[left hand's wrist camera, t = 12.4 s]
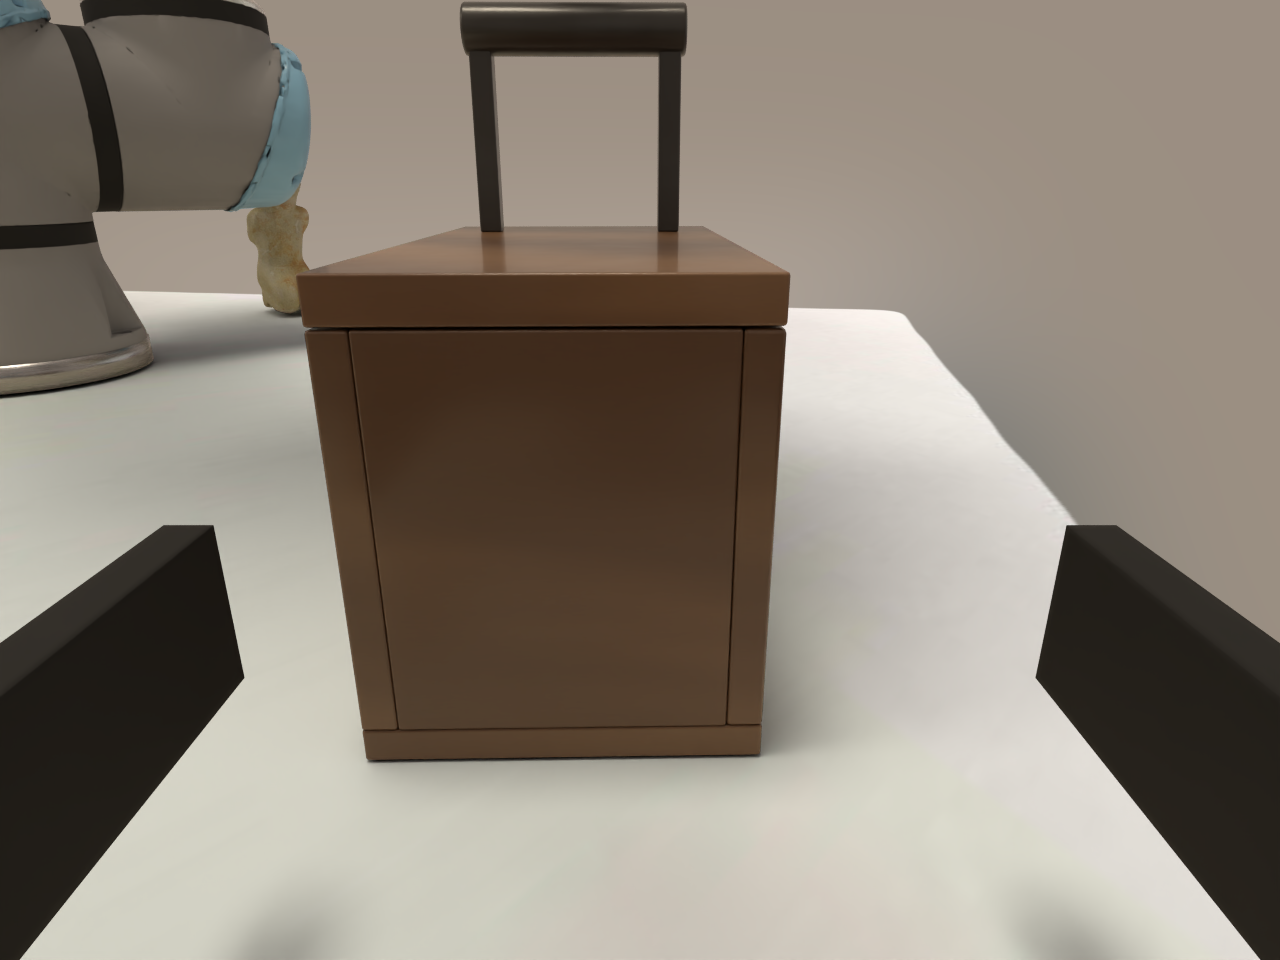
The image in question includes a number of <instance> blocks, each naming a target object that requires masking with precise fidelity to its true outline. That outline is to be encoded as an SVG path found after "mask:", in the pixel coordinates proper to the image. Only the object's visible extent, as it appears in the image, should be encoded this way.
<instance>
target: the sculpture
mask: <svg viewBox="0 0 1280 960" xmlns="http://www.w3.org/2000/svg"><path fill="white" fill-rule="evenodd" d="M300 185H301V183H300ZM300 185H299V187H298V188H297V190H296V191H295V193H294V194H293V195H292V197H291V198H290V199H288V200H287V201H286V202H284V203H282V204H280V205H277V206H272V207H259V208H254V209H253V210H251V211H250V212H249V214H248V215H247V232H248V237H249V239H250V241H251V242H253V243H254V244H255V245H256V247H257V249H258V254H259V255H258V265H257V278H258V282H259V284H260V286H261V288H262V296H263V302H264V305H265V306H266V307H271V308H272V307H273V308H274V309H275V310H277V311H280V312H284V313H293V312H295V311H299V310H301V309H300V302H299V295H298V288H297V281H296V274H298V273H301V272H305V271H309V268H308V267H307V265H306V264H305V262H304V260H303V257H302V238H303V233H304V231H305V229H306V228H307V226H308V222H309V215H308V212H307V210H306V209H304V208H303V207H300V206H296V199H297V195H298V192H299V189H300Z"/></svg>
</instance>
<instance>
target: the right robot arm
mask: <svg viewBox="0 0 1280 960" xmlns="http://www.w3.org/2000/svg"><path fill="white" fill-rule="evenodd" d="M80 7H81V11H82V16H83V20H84V25H85V26H68V25H59V24H52V23H50V22H49V20H50V19H51V18H50V13H49V11H48V10H46V8H45V7H44V5H43V3H42V1H41V0H0V395H1V394H12V393H22V392H31V391H39V390H46V389H53V388H60V387H66V386H72V385H78V384H84V383H89V382H94V381H99V380H103V379H108V378H112V377H116V376H120V375H123V374H127V373H130V372H133V371H136V370H138V369H141V368H143V367H145V366H147V365H148V364H150V363H151V362H152V361H153V359H154V357H153V353H152V348H151V343H150V339H149V335H148V334H147V332H146V330H145V328H144V326H143V324H142V323H141V321H140V319H139V318H138V316H137V314H136V313H135V311H134V309H133V308H132V306H131V304H130V303H129V301H128V299H127V298H126V296H125V294H124V293H123V291H122V289H121V288H120V286H119V284H118V282H117V281H116V279H115V277H114V276H113V274H112V273H111V271H110V269H109V268H108V266H107V264H106V262H105V261H104V259H103V257H102V254H101V251H100V248H99V244H98V240H97V235H96V231H95V227H94V222H93V216H92V213H93V212H106V211H118V212H119V211H177V210H224V211H229V212H232V211H237V210H239V209H244V208H259V207H272V206H277V205H280V204H282V203H284V202H286V201H287V200H288V199H290V198H291V197H292V195H293V194H294V193H295V191H296V190H297V188H298V187H299V185H300V182H301V180H302V177H303V173H304V170H305V167H306V164H307V159H308V153H309V145H310V132H311V113H310V99H309V91H308V86H307V81H306V77H305V75H304V73H303V72H302V69H301V63H300V61H299V59H298V57H297V56H296V55H295V53H294V52H293V51H291V50H289V49H287V48H285V47H284V46H283V45H281V44H278V43H271V42H270V37H269V31H268V25H267V19H266V14H265V11H264V10H263V9H262V8H261V7H260V6H259V5H258V4H257V3H256V2H255V1H254V0H80Z"/></svg>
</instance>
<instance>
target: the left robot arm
mask: <svg viewBox="0 0 1280 960" xmlns="http://www.w3.org/2000/svg"><path fill="white" fill-rule="evenodd" d="M243 679H244V673H243V669H242V664H241V659H240V654H239V649H238V644H237V639H236V634H235V629H234V624H233V619H232V614H231V610H230V605H229V600H228V595H227V590H226V585H225V580H224V575H223V570H222V565H221V560H220V555H219V551H218V546H217V541H216V536H215V531H214V526H213V525H163V526H162V527H161V528H159V529H158V530H156V531H155V532H154V533H152V534H151V535H150V536H148V537H147V538H145V539H144V540H143V541H141V542H140V543H138V544H137V545H136V546H134V547H133V548H132V549H130V550H129V551H127V552H126V553H125V554H123V555H122V556H120V557H119V558H118V559H116V560H115V561H113V562H112V563H111V564H109V565H108V566H107V567H105V568H104V569H102V570H101V571H100V572H98V573H97V574H95V575H94V576H93V577H91V578H90V579H89V580H87V581H86V582H84V583H83V584H82V585H80V586H79V587H77V588H76V589H75V590H73V591H72V592H70V593H69V594H68V595H66V596H65V597H64V598H62V599H61V600H59V601H58V602H57V603H55V604H54V605H52V606H51V607H50V608H48V609H47V610H46V611H44V612H43V613H41V614H40V615H39V616H37V617H36V618H34V619H33V620H32V621H30V622H29V623H28V624H26V625H25V626H23V627H22V628H21V629H19V630H18V631H16V632H15V633H14V634H12V635H11V636H9V637H8V638H7V639H5V640H4V641H3V642H1V643H0V960H20V958H21V957H22V956H23V955H24V953H25V952H26V951H27V950H28V948H29V947H30V946H31V945H32V943H33V942H34V941H35V940H36V938H37V937H38V936H39V935H40V933H41V932H42V931H43V930H44V928H45V927H46V926H47V925H48V923H49V922H50V921H51V920H52V918H53V917H54V916H55V915H56V913H57V912H58V911H59V910H60V908H61V907H62V906H63V905H64V903H65V902H66V901H67V900H68V898H69V897H70V896H71V895H72V893H73V892H74V891H75V890H76V888H77V887H78V886H79V885H80V883H81V882H82V881H83V880H84V878H85V877H86V876H87V874H88V873H89V872H90V871H91V869H92V868H93V867H94V866H95V864H96V863H97V862H98V861H99V859H100V858H101V857H102V856H103V854H104V853H105V852H106V851H107V849H108V848H109V847H110V846H111V844H112V843H113V842H114V841H115V839H116V838H117V837H118V836H119V834H120V833H121V832H122V831H123V829H124V828H125V827H126V826H127V824H128V823H129V822H130V821H131V819H132V818H133V817H134V816H135V814H136V813H137V812H138V811H139V809H140V808H141V807H142V806H143V804H144V803H145V802H146V801H147V799H148V798H149V797H150V795H151V794H152V793H153V792H154V790H155V789H156V788H157V787H158V785H159V784H160V783H161V782H162V780H163V779H164V778H165V777H166V775H167V774H168V773H169V772H170V770H171V769H172V768H173V767H174V765H175V764H176V763H177V762H178V760H179V759H180V758H181V757H182V755H183V754H184V753H185V752H186V750H187V749H188V748H189V747H190V745H191V744H192V743H193V742H194V740H195V739H196V738H197V737H198V735H199V734H200V733H201V732H202V730H203V729H204V728H205V727H206V725H207V724H208V723H209V722H210V720H211V719H212V718H213V716H214V715H215V714H216V713H217V711H218V710H219V709H220V708H221V706H222V705H223V704H224V703H225V701H226V700H227V699H228V698H229V696H230V695H231V694H232V693H233V691H234V690H235V689H236V688H237V686H238V685H239V684H240V683H241V681H242V680H243ZM1036 679H1037V680H1038V681H1039V683H1040V684H1041V685H1042V686H1043V688H1044V689H1045V690H1046V691H1047V693H1048V694H1049V695H1050V696H1051V698H1052V699H1053V700H1054V701H1055V703H1056V704H1057V705H1058V706H1059V708H1060V709H1061V710H1062V711H1063V713H1064V714H1065V715H1066V716H1067V718H1068V719H1069V720H1070V722H1071V723H1072V724H1073V725H1074V727H1075V728H1076V729H1077V730H1078V732H1079V733H1080V734H1081V735H1082V737H1083V738H1084V739H1085V740H1086V742H1087V743H1088V744H1089V745H1090V747H1091V748H1092V749H1093V750H1094V752H1095V753H1096V754H1097V755H1098V757H1099V758H1100V759H1101V760H1102V762H1103V763H1104V764H1105V765H1106V767H1107V768H1108V769H1109V770H1110V772H1111V773H1112V774H1113V775H1114V777H1115V778H1116V779H1117V780H1118V782H1119V783H1120V784H1121V785H1122V787H1123V788H1124V789H1125V790H1126V792H1127V793H1128V794H1129V795H1130V797H1131V798H1132V799H1133V801H1134V802H1135V803H1136V804H1137V806H1138V807H1139V808H1140V809H1141V811H1142V812H1143V813H1144V814H1145V816H1146V817H1147V818H1148V819H1149V821H1150V822H1151V823H1152V824H1153V826H1154V827H1155V828H1156V829H1157V831H1158V832H1159V833H1160V834H1161V836H1162V837H1163V838H1164V839H1165V841H1166V842H1167V843H1168V844H1169V846H1170V847H1171V848H1172V849H1173V851H1174V852H1175V853H1176V854H1177V856H1178V857H1179V858H1180V859H1181V861H1182V862H1183V863H1184V864H1185V866H1186V867H1187V868H1188V869H1189V871H1190V872H1191V873H1192V874H1193V876H1194V877H1195V878H1196V880H1197V881H1198V882H1199V883H1200V885H1201V886H1202V887H1203V888H1204V890H1205V891H1206V892H1207V893H1208V895H1209V896H1210V897H1211V898H1212V900H1213V901H1214V902H1215V903H1216V905H1217V906H1218V907H1219V908H1220V910H1221V911H1222V912H1223V913H1224V915H1225V916H1226V917H1227V918H1228V920H1229V921H1230V922H1231V923H1232V925H1233V926H1234V927H1235V928H1236V930H1237V931H1238V932H1239V933H1240V935H1241V936H1242V937H1243V938H1244V940H1245V941H1246V942H1247V943H1248V945H1249V946H1250V947H1251V948H1252V950H1253V951H1254V952H1255V953H1256V955H1257V956H1258V957H1259V958H1260V960H1280V643H1279V642H1277V641H1276V640H1275V639H1273V638H1272V637H1271V636H1269V635H1268V634H1266V633H1265V632H1264V631H1262V630H1261V629H1259V628H1258V627H1257V626H1255V625H1254V624H1252V623H1251V622H1250V621H1248V620H1247V619H1246V618H1244V617H1243V616H1241V615H1240V614H1239V613H1237V612H1236V611H1234V610H1233V609H1232V608H1230V607H1229V606H1228V605H1226V604H1225V603H1223V602H1222V601H1221V600H1219V599H1218V598H1216V597H1215V596H1214V595H1212V594H1211V593H1210V592H1208V591H1207V590H1205V589H1204V588H1202V587H1201V586H1200V585H1198V584H1197V583H1196V582H1194V581H1193V580H1191V579H1190V578H1189V577H1187V576H1186V575H1184V574H1183V573H1182V572H1180V571H1179V570H1178V569H1176V568H1175V567H1173V566H1172V565H1171V564H1169V563H1168V562H1166V561H1165V560H1164V559H1162V558H1161V557H1160V556H1158V555H1157V554H1155V553H1154V552H1153V551H1151V550H1150V549H1148V548H1147V547H1146V546H1144V545H1143V544H1142V543H1140V542H1139V541H1137V540H1136V539H1135V538H1133V537H1132V536H1130V535H1129V534H1128V533H1126V532H1125V531H1124V530H1122V529H1121V528H1119V527H1118V526H1116V525H1067V526H1066V531H1065V536H1064V541H1063V546H1062V551H1061V555H1060V560H1059V565H1058V570H1057V575H1056V580H1055V585H1054V590H1053V595H1052V600H1051V605H1050V610H1049V614H1048V619H1047V624H1046V629H1045V634H1044V639H1043V644H1042V649H1041V654H1040V659H1039V664H1038V669H1037V673H1036Z"/></svg>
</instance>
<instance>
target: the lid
mask: <svg viewBox="0 0 1280 960" xmlns="http://www.w3.org/2000/svg"><path fill="white" fill-rule="evenodd" d="M460 29H461V38H462V43H463V47H464V50H465V53H466V55H468V56H469V62H470V77H471V91H472V106H473V121H474V136H475V151H476V166H477V181H478V196H479V211H480V226H481V227H463V228H459V229H456V230H452V231H449V232H445V233H441V234H438V235H434V236H431V237H427V238H424V239H420V240H416V241H413V242H409V243H405V244H402V245H398V246H395V247H391V248H388V249H384V250H380V251H377V252H373V253H370V254H366V255H362V256H359V257H355V258H352V259H348V260H344V261H341V262H337V263H334V264H330V265H327V266H323V267H319V268H316V269H312V270H309V271H305V272H301V273H298V274H296V281H297V288H298V295H299V302H300V309H301V315H302V322H303V326H304V327H306V328H344V327H591V326H784V325H786V324H787V320H788V304H789V288H790V273H789V272H787V271H785V270H783V269H781V268H779V267H778V266H776V265H774V264H772V263H770V262H768V261H766V260H765V259H763V258H761V257H759V256H757V255H755V254H753V253H752V252H750V251H748V250H746V249H744V248H742V247H740V246H739V245H737V244H735V243H733V242H731V241H729V240H727V239H726V238H724V237H722V236H720V235H718V234H716V233H714V232H713V231H711V230H709V229H707V228H705V227H703V226H679V165H680V101H681V57H683V56H684V55H685V52H686V44H687V6H686V4H685V3H661V2H660V3H659V2H463V3H462V4H461V8H460ZM494 56H540V57H546V56H547V57H658V189H657V226H654V227H653V226H651V227H650V226H648V227H647V226H645V227H643V226H642V227H641V226H640V227H639V226H638V227H504V222H503V204H502V187H501V169H500V152H499V135H498V117H497V100H496V82H495V65H494Z"/></svg>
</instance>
